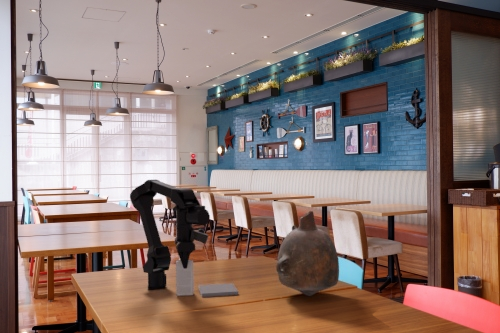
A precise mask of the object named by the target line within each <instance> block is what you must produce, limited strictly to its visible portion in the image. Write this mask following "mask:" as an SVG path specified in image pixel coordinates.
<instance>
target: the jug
mask: <svg viewBox="0 0 500 333" xmlns="http://www.w3.org/2000/svg"><path fill="white" fill-rule="evenodd" d="M314 215H315V213H314V211H312V210H309V211H308V212H306V213H305V214H304V215H302V216H301V217H300V218H299V224H298V227H297V225H295V224H293V225H292V227H291V231H289V232H288V234H286V236H284V239H283V241H282V242H281V243H280V247H279V251H278V257H277V262H276V268H275V269H276V271H277V276H278V280H279V282H280V284H281V285H282V286H285V287H287V288H290V289H293V290H296V291H298V292H300V293H301V294H303V295H305V296H307V297H311V296H314V295H315V294H317V293H319V292H322V291H324V290H327V289H330V288H333V287H334V286H336V285H337V284H338V282H339V278H340V263H339V257H338V252H337V249H336V246H335V243H334V241H333V239H332V238H331V236H330V235H329V234H328V233H327V232H326V231H324V230H323V229H320V228H318V227H317V225H316V223H315V222H316V220H315V216H314Z"/></svg>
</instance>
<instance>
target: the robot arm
mask: <svg viewBox="0 0 500 333" xmlns="http://www.w3.org/2000/svg"><path fill="white" fill-rule="evenodd" d="M157 194H159V195H162V196H164V197H166V198H168V199H169V200H170V201H171V203H172V204H175V206H174V207H173V208H172V209H171V210H172V211H173V212H175V215H176V216H175V217H176V218H175V222H176V224H175V229H176V231H175V232H176V233H175V234H176V237H175V238H174V245H175V249H176V252H177V254H178V257H179V260H181V262H182V265H183V268H184V269H186V268H187V265H188V260H190V255H191V253H193V252H194V251H196V244H195V241H196V242H200V243H202V244H203V245H206V244H207V242H208V239H209V235H208V234H207V233H205V230H204V229H202V228H199V229H198V230H196V229H194V228H195V227H194V226H206V225H207V224H208V223H209V222H210V218H211V217H210V213H209V211H208V210H207V209H206V205H201V204H200V201H199V199H198V198H197V195H196V194H195V191H194V190H193V189H192V188H187V187H176V186H173V185H172V184H171V185H170V184H168V183H165V182H163V181H160V180H159V179H148V180H145V181H144V182H143V183H142V184H140V185H138V186H136V187H135V188H134V189H132V190H131V192H130V194H129V199H130V202H131V204H132V206H133V208H134V209H135V210H136V211H137V212H138V213H139V217H140V220H141V224H142V228H143V231H144V234H145V238H146V242H147V245H148V249H147V252H146V259H147V260H146V261H145V263H143V264H144V265H143V266H142V269H143V270H142V271H143V273H145V274H147V290H162V289H163V290H164V289H166V287H167V274H166V273H165V272H166V271H169V269H170V265H171V261H172V257H171V256H172V254H171V252H170V247H169V246H168V245H164V244H163V243H162V241H161V237H160V232H159V230H158V225H157V222H156V219H155V215H154V211H153V206H154V198H155V197H156V196H157ZM193 225H194V226H193Z"/></svg>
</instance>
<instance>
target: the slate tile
mask: <svg viewBox="0 0 500 333" xmlns="http://www.w3.org/2000/svg"><path fill="white" fill-rule="evenodd" d="M198 291H199V293H200V296H201V297H202V298H209V297H210V298H211V297H222V296H223V297H225V296H238V295H239V290H238V288H236V285H235V284H234V283H232V282H230V283H213V284H198Z"/></svg>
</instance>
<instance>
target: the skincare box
mask: <svg viewBox="0 0 500 333" xmlns="http://www.w3.org/2000/svg"><path fill="white" fill-rule="evenodd" d="M175 278H176V279H175V280H176V283H175V286H176V288H175V289H176V291H175V293H176V296H178V297H181V296H183V297H184V296H193V295H194V292H195V291H194V290H195V284H194V280H195V279H194V260H193V259H189V260H188V265H187V268H186V269H184V268H183V265H182V262H181V260H180V259H179V260H178V259H177V260H176V262H175Z"/></svg>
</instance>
